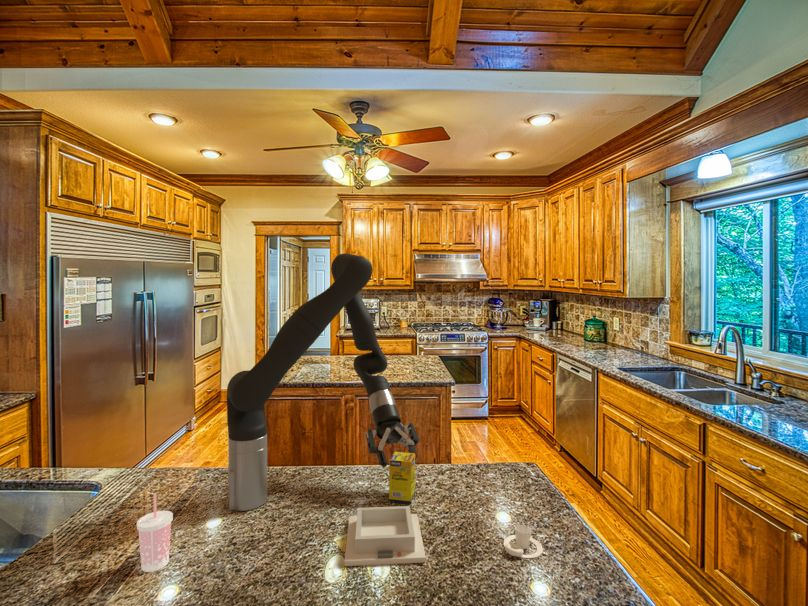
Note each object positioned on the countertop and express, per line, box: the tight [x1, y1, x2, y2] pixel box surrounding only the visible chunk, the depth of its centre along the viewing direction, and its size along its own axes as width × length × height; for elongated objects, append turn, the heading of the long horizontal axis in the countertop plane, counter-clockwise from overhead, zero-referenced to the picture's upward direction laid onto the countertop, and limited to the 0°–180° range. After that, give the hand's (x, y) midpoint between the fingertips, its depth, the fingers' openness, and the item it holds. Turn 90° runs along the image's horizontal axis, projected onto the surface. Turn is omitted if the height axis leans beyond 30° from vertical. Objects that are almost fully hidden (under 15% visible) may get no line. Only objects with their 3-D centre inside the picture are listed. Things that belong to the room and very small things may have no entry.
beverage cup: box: [136, 492, 174, 573], centre depth 79 cm, size 6×6×14 cm
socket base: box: [343, 505, 427, 567], centre depth 87 cm, size 16×16×4 cm
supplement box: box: [388, 451, 416, 505], centre depth 105 cm, size 6×6×11 cm
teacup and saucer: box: [503, 524, 544, 559], centre depth 85 cm, size 9×8×4 cm
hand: (399, 463), depth 107 cm, fingers open, 8 cm apart
